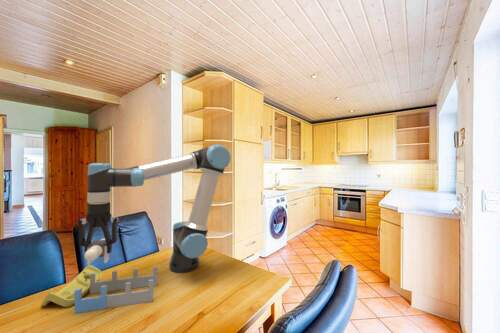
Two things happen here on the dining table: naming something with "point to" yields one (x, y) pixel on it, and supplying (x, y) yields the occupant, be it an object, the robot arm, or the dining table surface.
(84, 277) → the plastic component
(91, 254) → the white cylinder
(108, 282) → the blue peg rack
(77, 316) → the dining table surface
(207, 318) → the dining table surface
